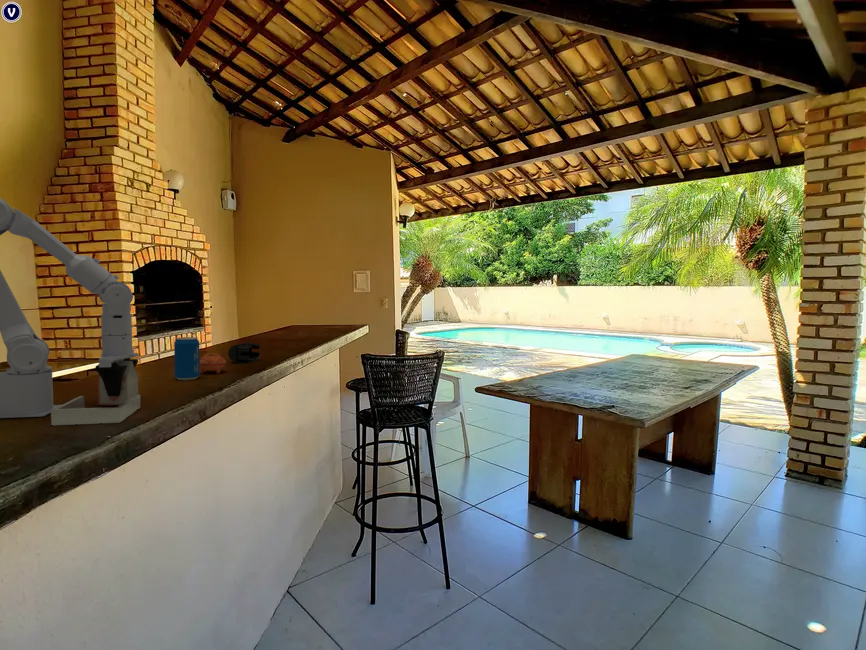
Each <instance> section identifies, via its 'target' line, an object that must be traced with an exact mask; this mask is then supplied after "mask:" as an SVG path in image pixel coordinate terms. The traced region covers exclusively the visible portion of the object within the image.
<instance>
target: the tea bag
mask: <svg viewBox="0 0 866 650" xmlns="http://www.w3.org/2000/svg"><path fill="white" fill-rule="evenodd" d="M117 365H119V366H127V368H126V370H125V372H124V375H123V378H122V384H121V392H120V395H119V396H108V395H107V392H106V389H105V386H104V383H103V380H102V378H101V376H100V375H99V374H98V377H97V404H98V406H111V405H121V404H122V403H124V402H125V401H127V400H128V399H130V398H131V397H133V396H135V395H136V394H139V377H138V374H137V372H136V369H135V368H136V367H135V368H134V365H133V361H119V362H118V363H117Z"/></svg>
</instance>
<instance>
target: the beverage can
mask: <svg viewBox="0 0 866 650" xmlns="http://www.w3.org/2000/svg"><path fill="white" fill-rule="evenodd" d="M173 344H174V345H173V346H174V347H173V349H174V352H173V353H174V359H173V360H174V378H176V379H177V381H193V380H197V379H198V378H199V377H200V376H201V375H200V374H201V372H200V359H201V358H200V341H199V339H198V337H194V336H186V337H185V336H183V337H176V338H175V341H174V343H173Z"/></svg>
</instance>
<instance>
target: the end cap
mask: <svg viewBox="0 0 866 650" xmlns="http://www.w3.org/2000/svg"><path fill="white" fill-rule="evenodd" d="M253 350H260V344H259V343H250V341H247V342H242V343H239V344H234V345H232V346H230V348H229V349H228V350H227V351H228V353H227V354H228V358H229V359H230V361H232V362H233V363H234V364H237V365H250V364H252V362H253V363H255V361H256V362H258V360H259V361H260V357H261V356H260V352H259V351H253ZM249 363H250V364H249Z"/></svg>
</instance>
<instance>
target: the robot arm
mask: <svg viewBox="0 0 866 650" xmlns="http://www.w3.org/2000/svg"><path fill="white" fill-rule="evenodd" d="M6 232H8V233H10V234H12V235H15V236H19V237H23V238H27V239H29V240H30V241H31V242H33V243H34V244H36V245H37V246H38V247H40V248H41V249H42V250H44V251H46V252H47V253H48V254H50V255H51V256H53V257H54V258H55V259H57V261H59V262H60V263H62V264H63V265H64V266H65V275H67V276H68V277H69V278H71V279H72V280H74V282H76V283H77V284H79V285H80V286H82V287H83V288H84V289H86V290H87V291H88V292H89V293H91V294H92V295H98V297H99V299H100V301H101V302H102V306H101V307H102V308H101V309H102V313H101V315H100V319H101V321H100V322H101V323H100V325H101V354H100V358H98V365H95V371H96V372H97V374H98V376H99V375H100V376H101V378H102V380H103V383H104V386H105V389H106V392H107V395H108V396H119V395H120V392H121V384H122V378H123V375H124V372H125V370H126V368H127V366H119V365H117V363H118V362H119V361H133V365H134V368H136V366H137V365H138V363H139V359H137V358H136V357H139V353H138V352H135V349H134V348H133V319H132V318H133V317H132V313H131V310H132V306H131V304H132V301H133V299H134V294H133V292H132V290H131V288H130V287H129V286H128V285H127V284H125V283H123V282H122V281H118V280H119V279H120V277H119V276H118V275H117V274H112V273H111V272H110V271H109V270H107V269H106V268H105V267H104V266H102V265H101V264H100V263H101V260H99V259H98V258H97V257H94V258H92V257H91V256H90V255H81V254H77V253H75V252H74V251H73V250H72V249H70V248H69V247H68V246H67V245H65V244H64V243H63V242H62V241H60V240H59V239H58V238H57V237H56V236H55V235H53V234H52V233H51V232H50V231H49V230H47V228H45V227H43V225H41V224H40V223H39V222H37V221H36V220H35V219H33V218H32V217H30V216H29V215H27V214H26V213H24V212H22V211H21V210H19V209H18V208H16V207H14V206H13V207H12V208H11V206H10V204H9V203H7V201H6V200H4V199H2V198H1V197H0V236H2V235H4V234H5V233H6ZM27 319H28V318H26V316H25V314H24V312H23V310H22V308H21V306H20V304H19V303H18V301H17V299H16V297H15V294H14V293H13V291H12V289H11V287H10V286H9V283H8V282H7V280H6V278H5V276H4V275H3V272H2V270H1V269H0V335H1V338H2V341H3V344H4V345H5V347H6V362H7V364H8V365H9V366H10V367H8V368H6V370H5V371H0V419H11V418H12V419H13V418H14V419H15V418H35V417H36V418H41V417H42V418H43V417H45V416H47V415H49V414H51V410H53V409H55V408H57V407H59V406H61V405H62V404H54V387H53V386H54V385H53V366H50V365H49V364H47V362H48V360H49V355H50V347H49V345H48V343H47V342H45V341H44V340H43V339H41V338H40V337H39V336H38V335H37V334H36V332H35V330H34V329H33V327H32V326H31V324H30V323H29V322H28V320H27Z"/></svg>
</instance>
